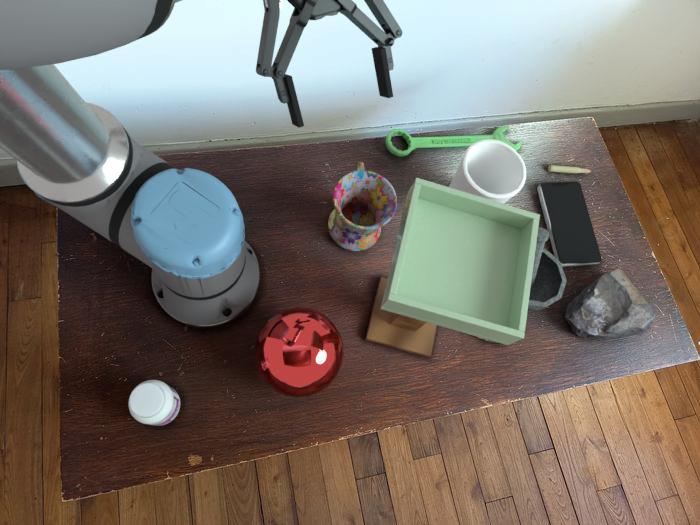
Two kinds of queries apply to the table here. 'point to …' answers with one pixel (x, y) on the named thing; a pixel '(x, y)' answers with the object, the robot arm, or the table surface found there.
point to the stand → (399, 328)
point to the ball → (298, 352)
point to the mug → (361, 209)
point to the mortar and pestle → (545, 276)
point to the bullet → (567, 169)
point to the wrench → (443, 141)
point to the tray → (463, 263)
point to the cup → (490, 171)
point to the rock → (610, 309)
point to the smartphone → (569, 223)
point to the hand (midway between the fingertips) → (343, 110)
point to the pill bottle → (154, 403)
